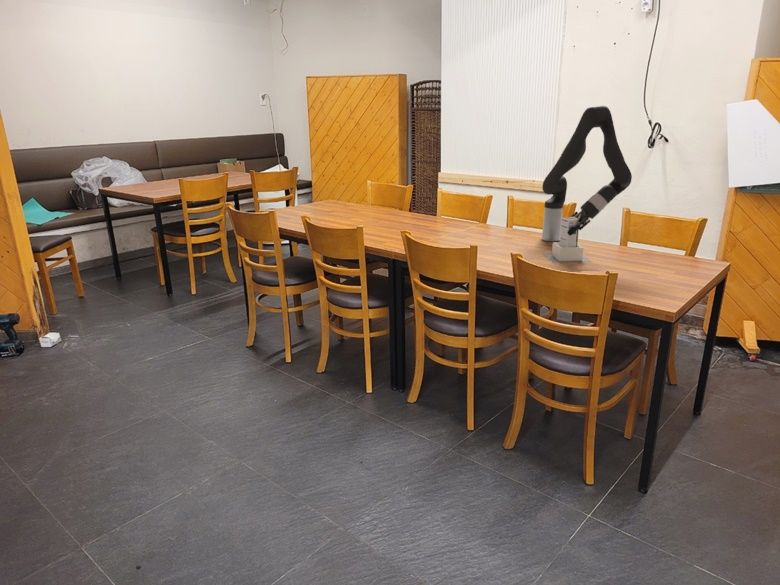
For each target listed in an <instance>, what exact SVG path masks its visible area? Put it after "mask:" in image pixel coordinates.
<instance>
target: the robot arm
mask: <svg viewBox="0 0 780 585" xmlns="http://www.w3.org/2000/svg"><path fill="white" fill-rule="evenodd" d="M612 116H613V115H612V113H611V111H610V108H609V107H608V106H606V105H594V106H589V107H587V108H586V109H585V110H584V112H583V113H582V115H581V117H580V119H579V122H578V124H577V126H576V128H575V130H574V132H573V134H572V136H571V138H570V140H569V141H568V142H567V144H566V146H565V147H564V149H563V150H562V153H561V155H560V156H559V158H558V160H557V161H556V163H555V165H554V166H553V167H552V168H551V170H550V171H549V172H548V174H547V175H546V176H545V178H544V180H543V182H542V188H541V189H542V192H543V193H544V194H545V195H552V196H551V197H550V198H549V199H547V200H546V201H545V202H544V209H543V219H542V221H543V222H542V232H541V240H542V241H545V242H558V241H559V242H560V233H561V219H562V218H563V210H564V203H565V201H566V196H567V188H568V181H567V179H566V177H565V174H567V173H568V172H570V171H571V170H572V169H573V168H575V167H576V166H577V165H578V164H579V163H580V161H581V160H582V159H583V157H584V155H585V153H586V150H587V149H586V148H587V137H588V135H590V132H591V131H592V129H594V128H599V129H600V130H601V132H602V134H603V135H602V136H603V145H602V146H603V147H602V153H603V156H604V159H605V162H606V163H607V166H608V168H609V169H610V170H611V173H612V176H613V179H612V180H611V181H609V183H608V184H605V185H603V186H602V187H601V188H600V189H599V190H598V191H597V192H596V193H595V194H594V195H593V194H592V196H590V197H589V199H587V200H586V201H585V202H584V203H583V204H582V205H581V206H580V210H581V211H579V212H577V211H575V212H574V213H573V214H571V216H570V217H576V218H578V219H577V220H576V223H575V225H574V227H572V228H571V229H570V230H569V231H568V232H567V233H568V234H569V235H570V236H571V235H572V234H573V233H574V232H575V231H576V230H579V231H581V230H583V229H584V228H585V227H586V226H587V225H588V224H589V223H591V219H592V220H593V219H594V218H595V217H596V216H598V214H600V213H601V212H602V211H603V210H604V209H605V208H606V207H607V205H608V204H609V203H611V201H613V200H614V199H615V198H616V197H617V196H619V195H620V194H621V193H623V191H625V190H626V189H627V188H628V187H629V186H631V183H632V179H633V176H632V172H631V170H630V168H629V166H628V164H627V162H626V161H625V158H624V155H623V153H622V151H621V148H620V146H619V143H618V142H619V141H618V139H617V135H616V131H615V130H616V129H615V125H614V120H613V117H612Z"/></svg>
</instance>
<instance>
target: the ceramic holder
mask: <svg viewBox="0 0 780 585" xmlns="http://www.w3.org/2000/svg"><path fill="white" fill-rule="evenodd" d="M551 247H552V249H551V250H552V251H551V254H552V256H554V257H555V258H556V259H557V260H559V261H582V256H584V246H582V245H581V244H579V243H577V247H565V248H562V247H561V246H560V241H559V242H558V241H552V246H551Z"/></svg>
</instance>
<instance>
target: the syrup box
mask: <svg viewBox="0 0 780 585" xmlns="http://www.w3.org/2000/svg"><path fill="white" fill-rule="evenodd" d="M577 219H578V218H576V217H571V216H570V217H569V216H568V217H562V219H561V233H560V240H559V242H560V246H561V247H562V248H565V247H577V244H579V243H578V240H579V231H580V230H576V231H575V232H574V233H573V234H572V235H571V236H570V235H569V234H568V233H567V232H568V231H569V230H570V229H571V228H572V227H574V225H575V223H576V220H577Z"/></svg>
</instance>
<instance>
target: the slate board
mask: <svg viewBox="0 0 780 585" xmlns="http://www.w3.org/2000/svg"><path fill="white" fill-rule="evenodd" d="M542 256H544V258H546V259H548V261H550V262H551V263H552V264H553V263H589V262H593V261H592V260H590V259H589V258H588V257H587V256H585V255H583V256H582V261H559V260H557V259H556V258H555V257H554V256H552V253H542Z"/></svg>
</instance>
